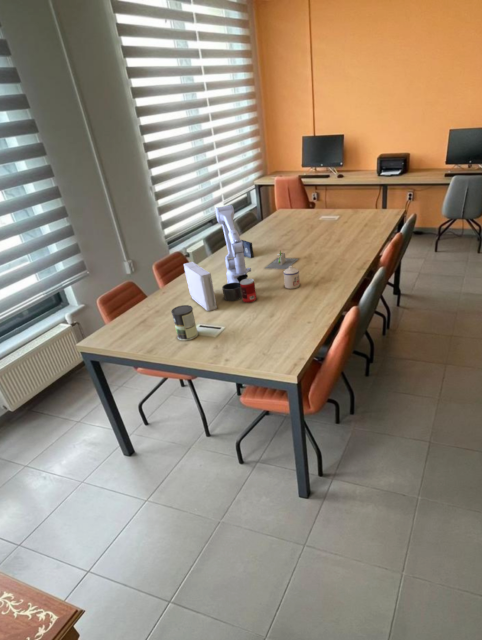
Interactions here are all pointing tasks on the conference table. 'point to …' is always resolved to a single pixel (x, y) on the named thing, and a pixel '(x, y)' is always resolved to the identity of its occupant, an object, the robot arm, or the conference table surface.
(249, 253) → the vhs cassette tape
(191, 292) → the game console
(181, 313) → the coffee can
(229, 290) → the pot
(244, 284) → the canned food
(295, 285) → the teacup with lid
